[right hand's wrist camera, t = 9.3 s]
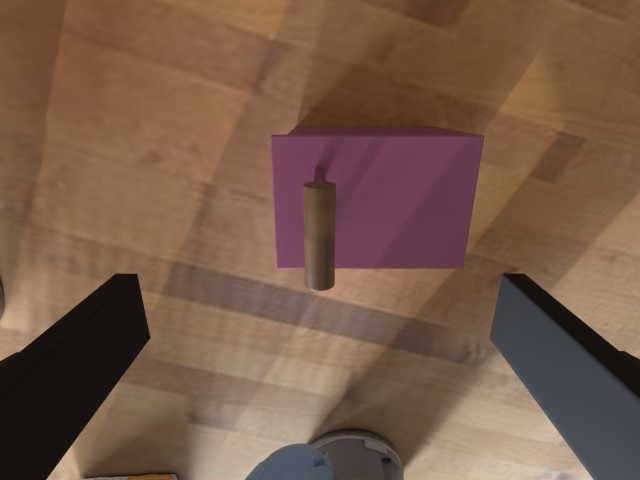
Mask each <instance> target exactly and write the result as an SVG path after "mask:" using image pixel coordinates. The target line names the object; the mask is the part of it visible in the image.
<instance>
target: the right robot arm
mask: <svg viewBox="0 0 640 480" xmlns="http://www.w3.org/2000/svg"><path fill="white" fill-rule="evenodd" d="M3 311H4V294H3V289H2V286H1V283H0V319H1V317H2V315H3ZM149 339H150V334H149V329H148V324H147V319H146V315H145V310H144V305H143V300H142V295H141V290H140V285H139V281H138V276H137V274H115V275H114V276H112V277H111V278H110V279H109V280H107V281H106V282H105V283H104V284H103V285H101V286H100V287H99V288H98V289H96V290H95V291H94V292H93V293H92V294H90V295H89V296H88V297H87V298H85V299H84V300H83V301H82V302H80V303H79V304H78V305H77V306H76V307H74V308H73V309H72V310H71V311H69V312H68V313H67V314H66V315H65V316H63V317H62V318H61V319H60V320H58V321H57V322H56V323H55V324H54V325H52V326H51V327H50V328H49V329H47V330H46V331H45V332H44V333H42V334H41V335H40V336H39V337H38V338H36V339H35V340H34V341H33V342H31V343H30V344H29V345H28V346H27V347H25V348H24V349H23V350H22V351H20V352H16V353H14V354H13V355H11V356H9V357H7V358H5V359H3V360H1V361H0V480H46V479H47V478H48V476H49V475H50V474H51V472H52V471H53V470H54V468H55V467H56V466H57V464H58V463H59V461H60V460H61V459H62V457H63V456H64V455H65V453H66V452H67V451H68V449H69V448H70V447H71V445H72V444H73V442H74V441H75V440H76V438H77V437H78V436H79V434H80V433H81V432H82V430H83V429H84V427H85V426H86V425H87V423H88V422H89V421H90V419H91V418H92V417H93V415H94V414H95V413H96V411H97V410H98V408H99V407H100V406H101V404H102V403H103V402H104V400H105V399H106V398H107V396H108V395H109V393H110V392H111V391H112V389H113V388H114V387H115V385H116V384H117V383H118V381H119V380H120V379H121V377H122V376H123V374H124V373H125V372H126V370H127V369H128V368H129V366H130V365H131V364H132V362H133V361H134V359H135V358H136V357H137V355H138V354H139V353H140V351H141V350H142V349H143V347H144V346H145V345H146V343H147V342H148V340H149ZM490 339H491V340H492V342H493V343H494V345H495V346H496V347H497V349H498V350H499V351H500V353H501V354H502V355H503V357H504V358H505V359H506V361H507V362H508V364H509V365H510V366H511V368H512V369H513V370H514V372H515V373H516V374H517V376H518V377H519V379H520V380H521V381H522V383H523V384H524V385H525V387H526V388H527V389H528V391H529V392H530V393H531V395H532V396H533V398H534V399H535V400H536V402H537V403H538V404H539V406H540V407H541V408H542V410H543V411H544V413H545V414H546V415H547V417H548V418H549V419H550V421H551V422H552V423H553V425H554V426H555V427H556V429H557V430H558V432H559V433H560V434H561V436H562V437H563V438H564V440H565V441H566V442H567V444H568V445H569V447H570V448H571V449H572V451H573V452H574V453H575V455H576V456H577V457H578V459H579V460H580V461H581V463H582V464H583V466H584V467H585V468H586V470H587V471H588V472H589V474H590V475H591V476H592V478H593V479H594V480H640V359H638V358H636V357H634V356H632V355H630V354H628V353H627V352H625V351H618V350H617V349H616V348H615V347H613V346H612V345H611V344H610V343H609V342H607V341H606V340H605V339H604V338H602V337H601V336H600V335H599V334H598V333H596V332H595V331H594V330H593V329H591V328H590V327H589V326H588V325H586V324H585V323H584V322H583V321H582V320H580V319H579V318H578V317H577V316H575V315H574V314H573V313H572V312H571V311H569V310H568V309H567V308H566V307H564V306H563V305H562V304H561V303H560V302H558V301H557V300H556V299H555V298H553V297H552V296H551V295H550V294H548V293H547V292H546V291H545V290H544V289H542V288H541V287H540V286H539V285H537V284H536V283H535V282H534V281H533V280H531V279H530V278H529V277H528V276H526V275H525V274H503V276H502V281H501V285H500V290H499V295H498V300H497V305H496V310H495V315H494V319H493V324H492V329H491V334H490Z"/></svg>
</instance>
